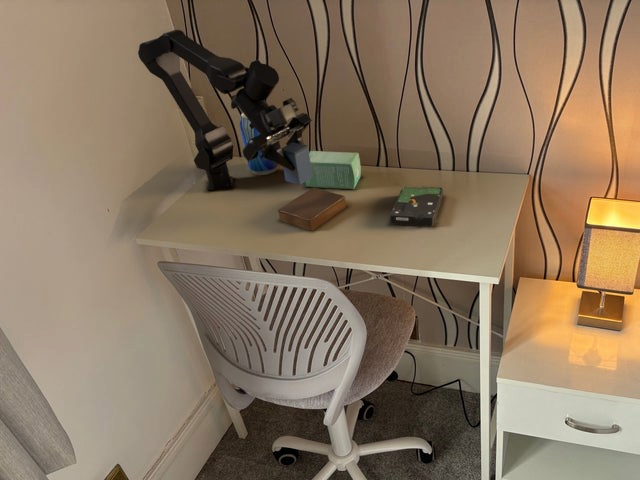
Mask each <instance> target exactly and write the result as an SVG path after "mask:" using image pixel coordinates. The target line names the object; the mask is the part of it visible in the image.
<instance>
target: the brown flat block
mask: <svg viewBox="0 0 640 480" xmlns="http://www.w3.org/2000/svg"><path fill="white" fill-rule="evenodd" d="M345 208H347V204H346V196H345V195H342V194H338V193H335V192H331V191H328V190H324V189H322V188H318V187H311V188H310V189H308V190H306V191H305V192H303V193H302V194H300V195H298V196H297V197H295V198H294V199H292V200H290V202H288V203H286V204H284V205H283V206H281V207H279V208H278V209H277V212H278V216H279V221H280V222H284V223H285V224H288V225H289V224H290V225H292V226H296V227H299V228H301V229H304V230H307V231H310V232H311V231H314V230H315V229H317V228H318V227H320V226H321V225H322V224H324V223H325V222H327V221H328V220H330V219H332V217H334V216H336V215H337V214H338V213H340V212H341V211H343V210H345Z"/></svg>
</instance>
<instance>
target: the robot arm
mask: <svg viewBox="0 0 640 480" xmlns="http://www.w3.org/2000/svg"><path fill="white" fill-rule="evenodd" d="M137 55H138V58H139V60H140V61H141V63H142V64H143V65H144V66H145V68H146V70H148V72H149V73H150V74H152V75H154V76H155V77H157V78H158V79H159V80H162V82H163V83H164V85H165V87H166V89H167V90H168V92H169V94H170V95H171V97H172V98H173V100H174V101H175V103H176V105H177V106H178V108H179V109H180V111H181V113H182V115H183V116H184V118H185V120H186V121H187V123H188V124H189V126H190V127H191V129H192V131H193V133H194V146H195V147H196V150H197V153H196V155H195V157H194V158H193V162H194V164H195V166H196V168H197V169H200V170H203V171H205V174H206V178H207V187H206V190H207V192H212V191H213V192H214V191H220V190H227V189H233V185H234V183H233V182H234V177H233V176H232V175H230V172H229V168H228V164H227V162H229V161H232V160H233V159H234V143H233V141H232V138H231V137H230V135H229V134H228V132H227V130H226V128H225V127H224V126H223V125H219V126H217V125H216V124H214V123H213V122H212V121H211V119H210V117H209V116H208V114H207V113H206V111H205V109H204V108H203V106H202V104H201V102H200V101H199V99H198V98H197V96H196V94H195V93H194V91H193V89H192V88H191V85H190V84H189V83H188V80H187V79H186V78H185V76H184V74H183V73H182V71H181V63H180V58H181V59H182V60H184V61H185V62H186V63H188V64H189V65H191V66H193V67H194V68H196V69H197V70H199V71H200V72H202V73H203V74H204V75H206V76H207V78H208V81H209V83H210V85H211V86H213V88H215V89H216V90H217V91H218V92H220V94H223V95H228V94H231V93H233V92H235V91H237V92H236V94H233V95H232V96H230V99H231V100H230V101H231V102H230V107H231V110H235V109H237V108H239V110H240V111H241V112H242V113H244V115H245V116H246V117H247V118H248V120H249V121H250V122H251V123H250V125H249V126H250V128H251V129H253V128H256V130H257V131H258V132H259V133H260V135H258V136H256V137H254V138H252V139H250V140H249V141H248V143H247V144H246V146H245V147H244V146H243V149H242V156H243V157H244V159H245V160H246V161H247V163H248V162H250V161H251V160H253V159H255V158H257V157H258V151H259V150H260V151H261V153H262V155H261V157H260V158H261V159H263V158H266V159H268V160H270V161H273V162H275V163H278V164H279V166H282V167H283V166H284V167H286V168H288V169H290V170H292V171H294V170H295V167H294V165H293V163H292V162H291V161H290V159H289V158H288V157H287V156H286V154H285V153H284V152H283V150H282V149H281V148H282V147H281V144H280V140H281V139H284V138H285V139H286V140H287V141H286V143H285V146H287V145H289V144H291V143H292V142H295V143H299V144H303V145H305V143H304V140H303V133H304V132H305V130H306V129H307V128H308V126H309V125H310V124H311V122H312V121H313V120H312V118H311V117H310V116H309V115H308V114H307V113H304V112H301V113H299V114H297V113H296V112H298V111H299V109H300V108H299V106H298V103H297V102H296V101H295V100H294V99H293V98H292V97H289V98H287V99H285V100H283V101H282V106H281V107H279V108H277V106H276V105H274V104H271V105H269V104H268V102H267V101H266V100H267V99H269V97H270V96H271V94H272V93H273V91H274V89H275V88H276V86H277V85H278V83H279V81H280V76H279V73H278V71H277V70H276V69H275V68H274V67H272V66H271V65H269V64H266V63H263V62H261V61H260V59H256V60H252V61H251V62H250V64H249V67H247V66H245V65H244V64H243V63H242V62H241V61H238V60H236V59H233V58H231V57H223V56H219V55H216V54H215V53H213V52H212V51H211V50H209V49H208V48H205V47H204V46H203V45H201V44H200V43H198V42H196V41H195V40H194V39H192V38H190V37H189V36H187V35H186V34H185V32H184V31H183V30H181V29H173V30H170V31H166V32H163V33H162V35H161V34H160V36H159V37H157V38H154V39H150V40H147V41H144V42H141V43H139V46H138V51H137ZM274 137H275V138H274ZM272 138H273V139H272Z"/></svg>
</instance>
